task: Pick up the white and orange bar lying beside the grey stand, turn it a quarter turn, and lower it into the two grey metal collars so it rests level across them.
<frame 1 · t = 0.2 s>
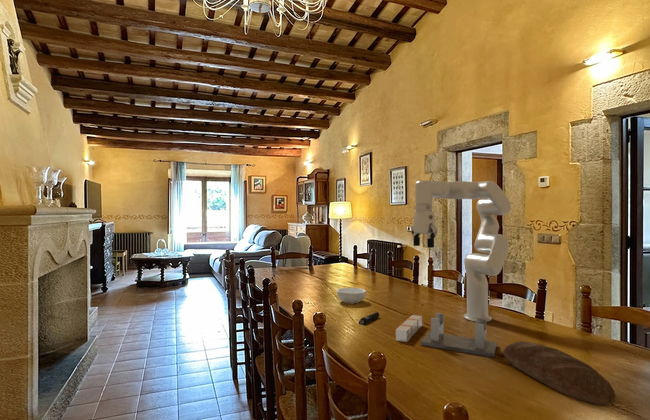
hand: (423, 246, 162), 37 cm above the table, tool pointing down, fingers open, 9 cm apart
bread: (552, 378, 114), on the table
white and orange bar: (409, 332, 157), on the table
electric trimmer: (369, 321, 175), on the table
grey stand: (458, 345, 141), on the table
cereal bowl: (351, 302, 211), on the table
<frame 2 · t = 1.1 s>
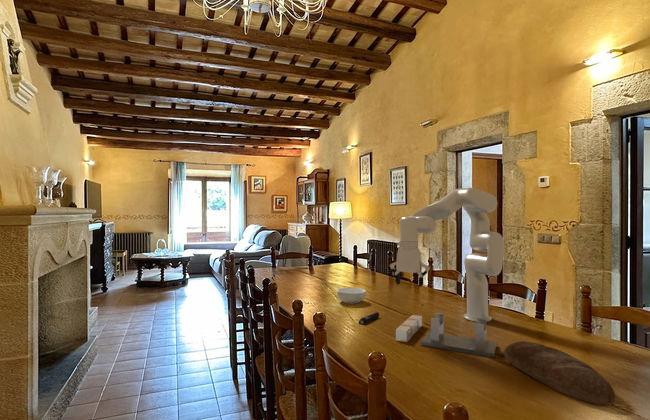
hand: (409, 285, 157), 20 cm above the table, tool pointing down, fingers open, 9 cm apart
nothing on the table moved.
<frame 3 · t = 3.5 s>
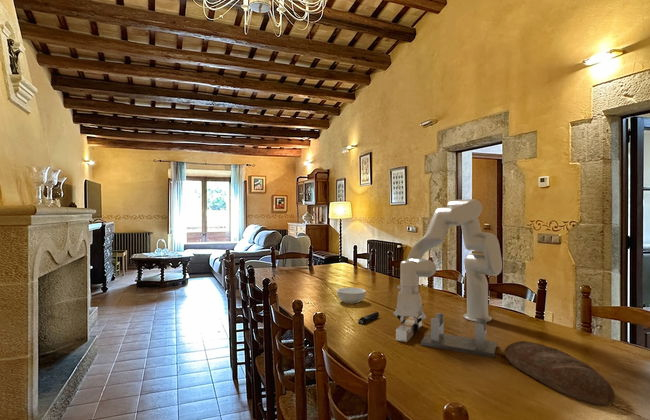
hand: (409, 331, 157), 1 cm above the table, tool pointing down, fingers closed on white and orange bar, 4 cm apart
white and orange bar: (409, 332, 157), on the table, touching gripper
everything else where it was.
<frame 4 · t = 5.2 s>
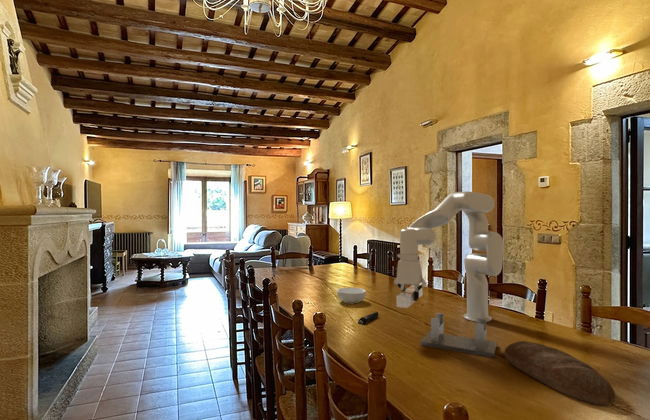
hand: (410, 299, 157), 14 cm above the table, tool pointing down, fingers closed on white and orange bar, 4 cm apart
white and orange bar: (410, 300, 157), point 14 cm above the table, touching gripper
everything else where it was.
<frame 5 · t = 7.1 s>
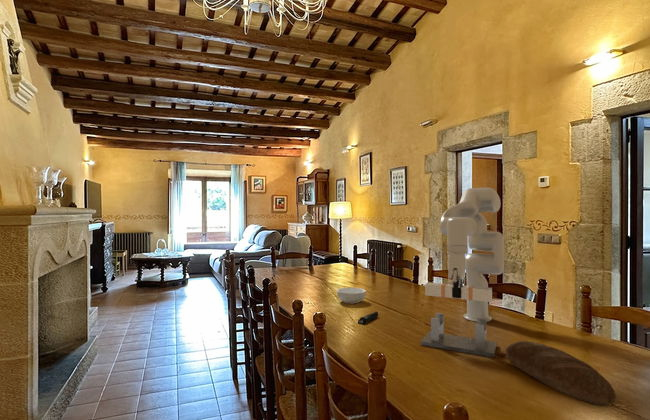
hand: (457, 296, 142), 19 cm above the table, tool pointing down, fingers closed on white and orange bar, 4 cm apart
white and orange bar: (457, 297, 142), point 19 cm above the table, touching gripper
everything else where it was.
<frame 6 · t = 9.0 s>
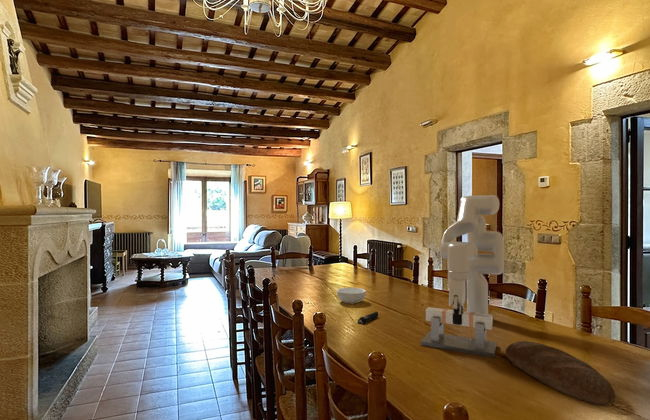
hand: (458, 322, 141), 9 cm above the table, tool pointing down, fingers closed on white and orange bar, 4 cm apart
white and orange bar: (458, 323, 141), point 9 cm above the table, touching gripper
everything else where it was.
when the fingers open (9 cm above the table, at t = 9.3 s): white and orange bar drops 1 cm, resting on grey stand.
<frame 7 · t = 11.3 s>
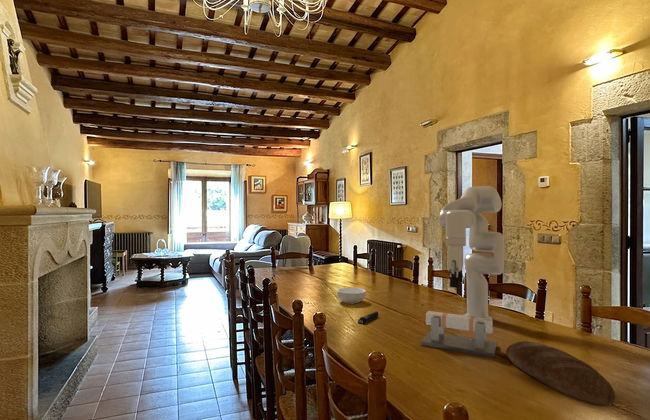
hand: (456, 284, 145), 23 cm above the table, tool pointing down, fingers open, 9 cm apart
white and orange bar: (458, 327, 142), point 7 cm above the table, touching grey stand
everything else where it was.
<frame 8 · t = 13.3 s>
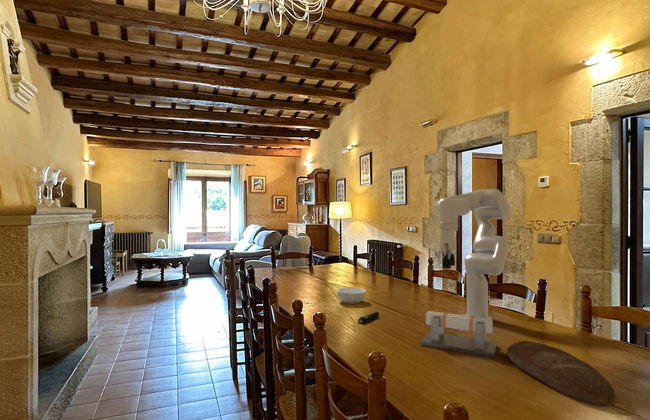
hand: (448, 266, 157), 28 cm above the table, tool pointing down, fingers open, 9 cm apart
nothing on the table moved.
at the end: white and orange bar 0.1 cm off-centre on the grey stand, point 6.9 cm above the grey stand's base; white and orange bar touching grey stand; the gripper is holding nothing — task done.
